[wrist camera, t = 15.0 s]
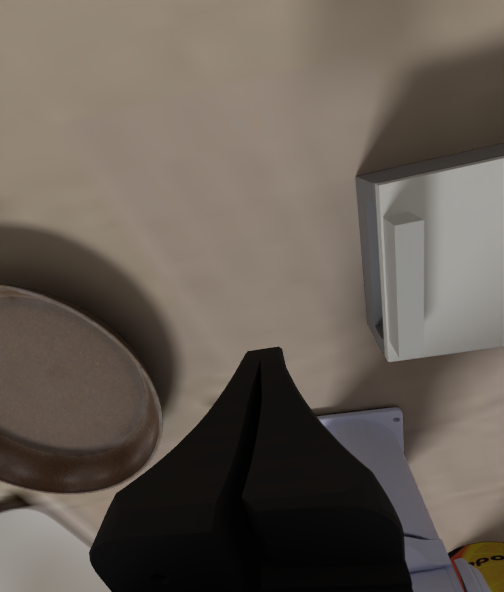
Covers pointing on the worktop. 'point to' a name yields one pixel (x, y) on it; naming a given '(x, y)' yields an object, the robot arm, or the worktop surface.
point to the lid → (442, 260)
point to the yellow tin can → (483, 562)
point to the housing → (369, 222)
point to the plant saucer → (70, 399)
